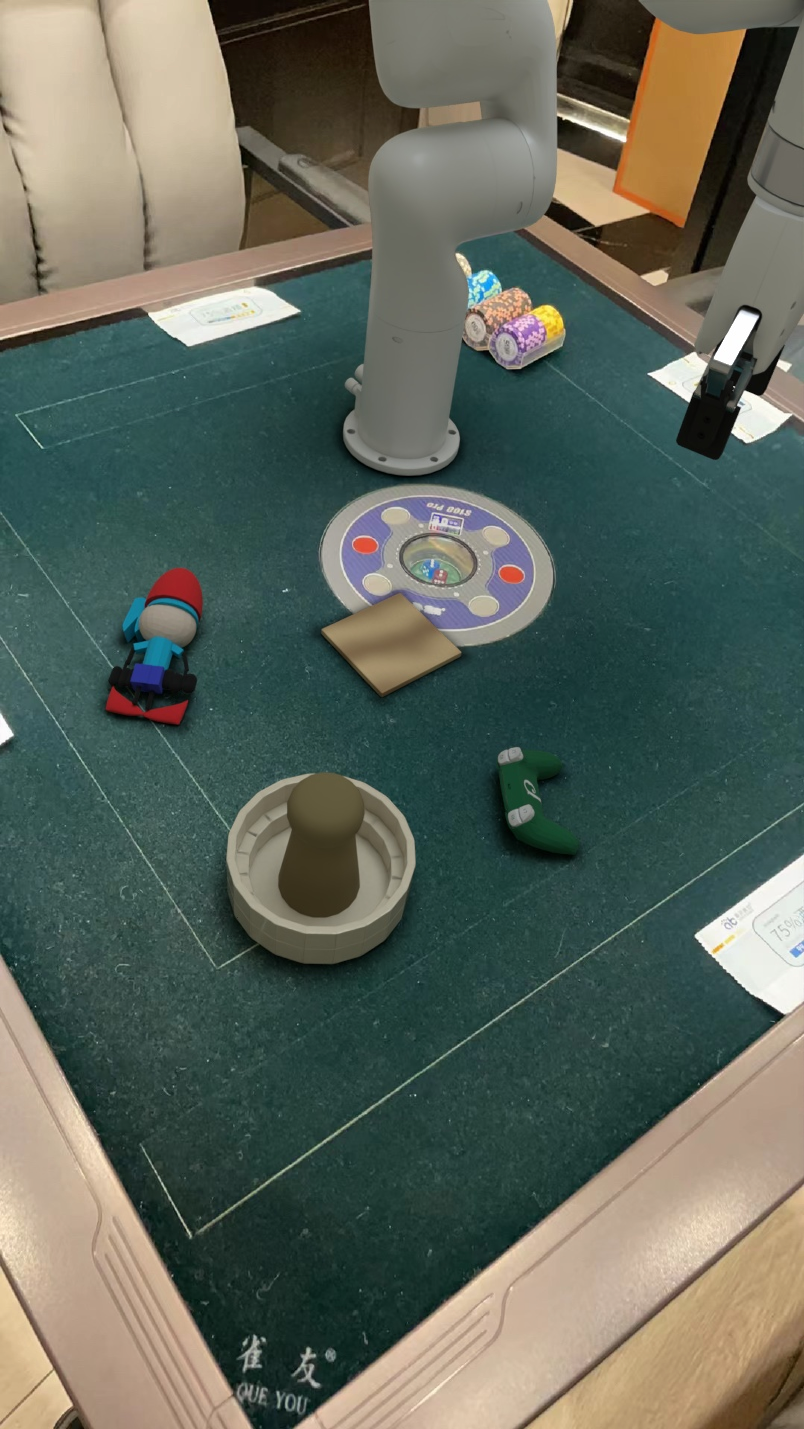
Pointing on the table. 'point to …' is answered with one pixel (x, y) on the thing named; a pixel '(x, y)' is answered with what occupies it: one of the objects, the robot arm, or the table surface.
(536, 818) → the gaming controller
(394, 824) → the bowl
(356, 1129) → the table surface
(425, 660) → the coaster
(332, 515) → the table surface
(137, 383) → the table surface
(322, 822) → the olive brown pawn
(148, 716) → the toy figure
